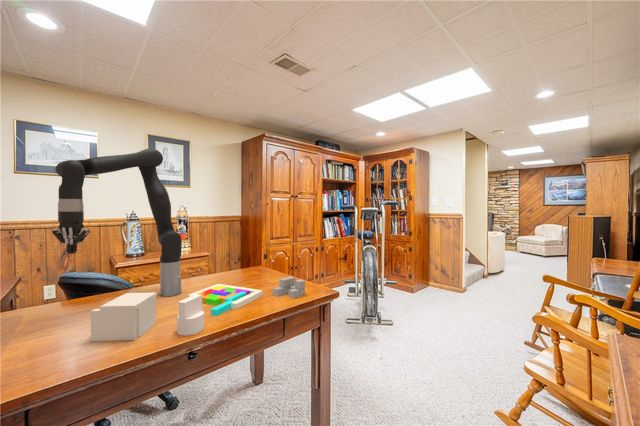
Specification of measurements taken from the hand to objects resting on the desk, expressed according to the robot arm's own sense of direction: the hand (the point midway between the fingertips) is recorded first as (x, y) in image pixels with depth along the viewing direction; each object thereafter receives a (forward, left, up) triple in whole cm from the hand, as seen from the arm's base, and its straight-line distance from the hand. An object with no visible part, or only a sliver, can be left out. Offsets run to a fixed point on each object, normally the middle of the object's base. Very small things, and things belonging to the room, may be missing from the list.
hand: (71, 253), depth 107 cm
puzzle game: (-55, +10, -28) cm, 63 cm away
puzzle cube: (-87, +22, -27) cm, 94 cm away
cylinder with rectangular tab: (-38, +36, -27) cm, 59 cm away
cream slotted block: (-18, +24, -27) cm, 40 cm away
